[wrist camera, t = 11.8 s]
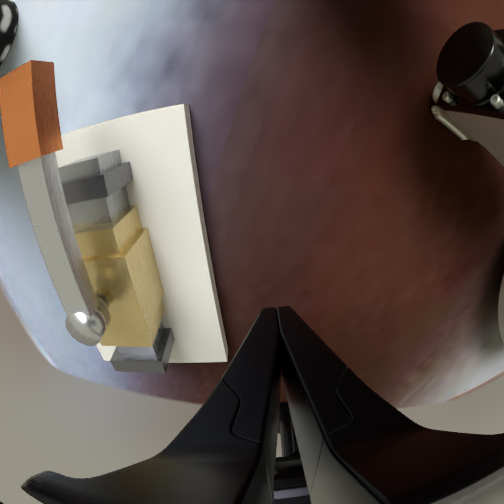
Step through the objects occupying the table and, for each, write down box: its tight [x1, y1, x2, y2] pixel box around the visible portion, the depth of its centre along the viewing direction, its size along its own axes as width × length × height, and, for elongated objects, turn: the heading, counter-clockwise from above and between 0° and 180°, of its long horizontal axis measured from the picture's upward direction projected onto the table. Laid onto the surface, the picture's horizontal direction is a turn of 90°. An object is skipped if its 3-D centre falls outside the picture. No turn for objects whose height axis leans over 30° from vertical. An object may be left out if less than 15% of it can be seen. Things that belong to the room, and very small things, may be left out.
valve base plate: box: [55, 104, 228, 363], centre depth 21 cm, size 20×12×2 cm, turn 5°
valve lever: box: [0, 60, 111, 346], centre depth 12 cm, size 14×2×3 cm, turn 5°
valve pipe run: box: [58, 149, 175, 373], centre depth 18 cm, size 16×5×4 cm, turn 5°
